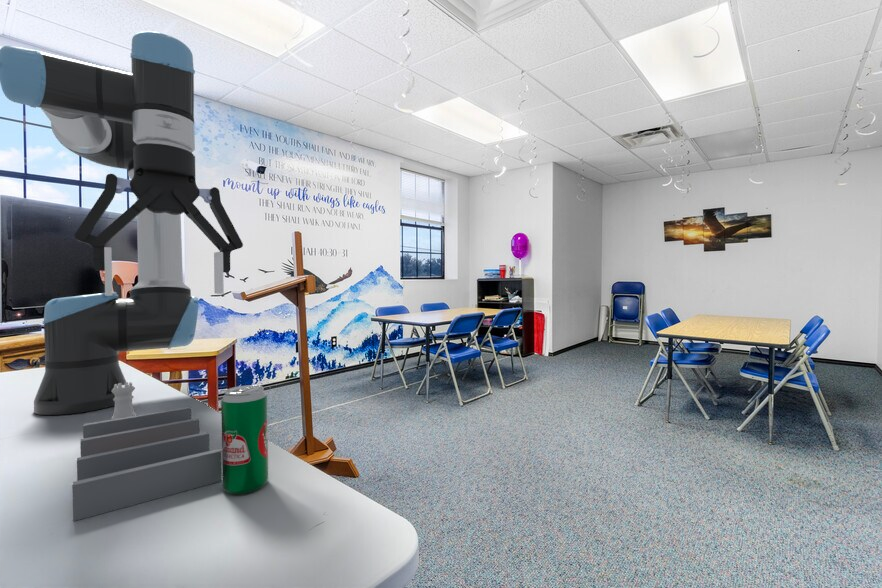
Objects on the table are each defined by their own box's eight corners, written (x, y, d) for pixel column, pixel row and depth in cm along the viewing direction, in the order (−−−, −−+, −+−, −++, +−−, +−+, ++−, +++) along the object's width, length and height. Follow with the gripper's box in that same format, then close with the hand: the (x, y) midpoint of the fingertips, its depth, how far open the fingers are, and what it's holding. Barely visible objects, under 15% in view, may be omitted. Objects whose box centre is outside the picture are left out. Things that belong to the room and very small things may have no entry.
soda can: (212, 492, 49) (211, 392, 49) (247, 474, 54) (245, 382, 54) (244, 500, 47) (242, 396, 47) (277, 481, 52) (276, 386, 52)
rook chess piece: (119, 426, 73) (118, 381, 73) (146, 425, 73) (145, 380, 73) (100, 435, 68) (99, 387, 68) (129, 434, 69) (128, 386, 69)
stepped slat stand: (84, 448, 63) (83, 424, 63) (190, 428, 71) (190, 406, 71) (73, 521, 43) (72, 485, 43) (221, 480, 52) (221, 451, 52)
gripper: (44, 120, 49) (49, 297, 50) (262, 159, 65) (263, 293, 66) (50, 136, 55) (54, 295, 56) (249, 169, 71) (250, 292, 72)
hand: (167, 294), depth 61 cm, fingers open, 13 cm apart
